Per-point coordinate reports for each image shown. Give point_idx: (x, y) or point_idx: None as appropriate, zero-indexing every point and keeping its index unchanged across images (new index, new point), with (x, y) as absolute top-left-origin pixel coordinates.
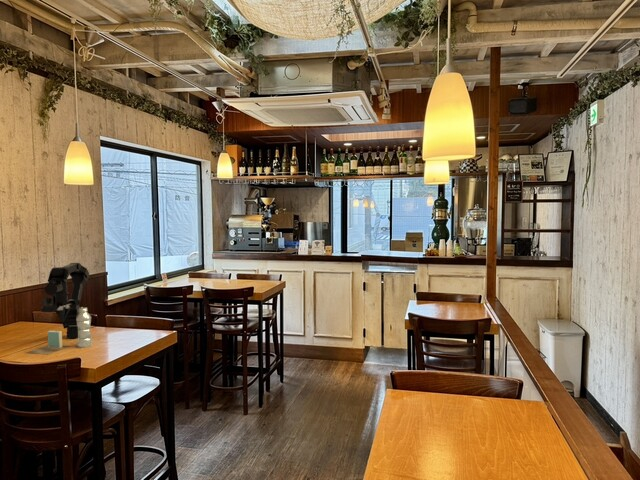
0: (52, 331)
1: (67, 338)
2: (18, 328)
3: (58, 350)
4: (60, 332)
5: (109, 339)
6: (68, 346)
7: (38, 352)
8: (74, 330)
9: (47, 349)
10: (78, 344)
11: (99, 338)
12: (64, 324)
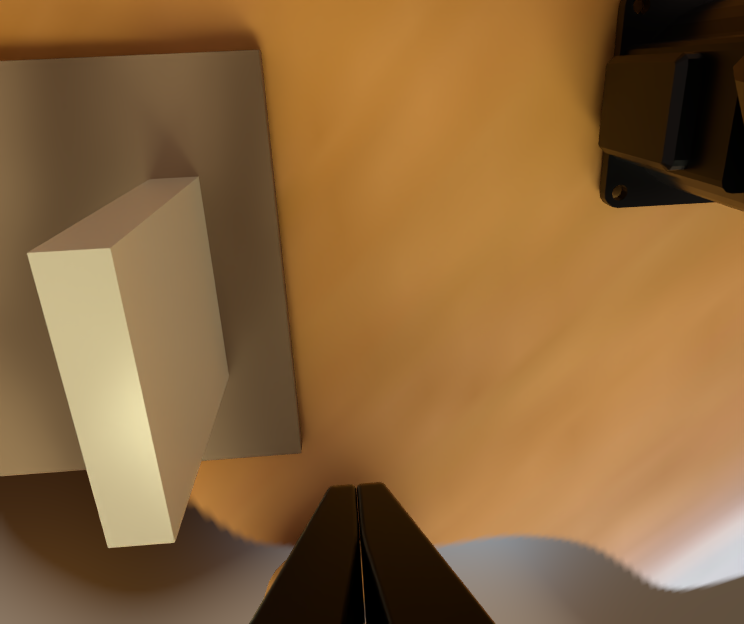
0: (76, 383)
1: (608, 75)
2: None
3: None
4: (150, 531)
5: (659, 581)
6: (272, 430)
7: None
8: (731, 199)
9: None
10: None
11: (700, 453)
12: (735, 72)
